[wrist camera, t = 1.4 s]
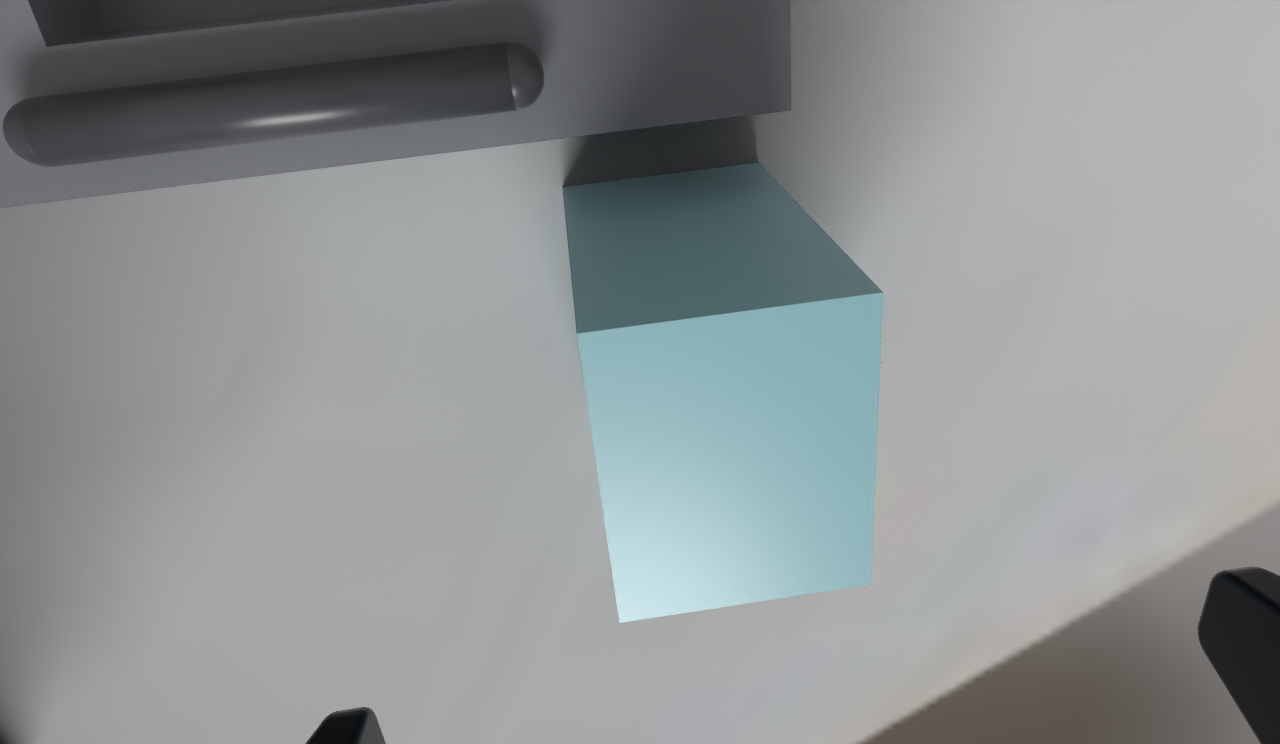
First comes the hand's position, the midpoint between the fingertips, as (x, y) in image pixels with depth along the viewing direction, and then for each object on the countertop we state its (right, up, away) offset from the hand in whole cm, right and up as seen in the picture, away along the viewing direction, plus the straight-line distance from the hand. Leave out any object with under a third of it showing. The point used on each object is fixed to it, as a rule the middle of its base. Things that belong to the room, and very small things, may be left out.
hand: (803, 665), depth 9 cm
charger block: (-1, +5, +9) cm, 11 cm away
